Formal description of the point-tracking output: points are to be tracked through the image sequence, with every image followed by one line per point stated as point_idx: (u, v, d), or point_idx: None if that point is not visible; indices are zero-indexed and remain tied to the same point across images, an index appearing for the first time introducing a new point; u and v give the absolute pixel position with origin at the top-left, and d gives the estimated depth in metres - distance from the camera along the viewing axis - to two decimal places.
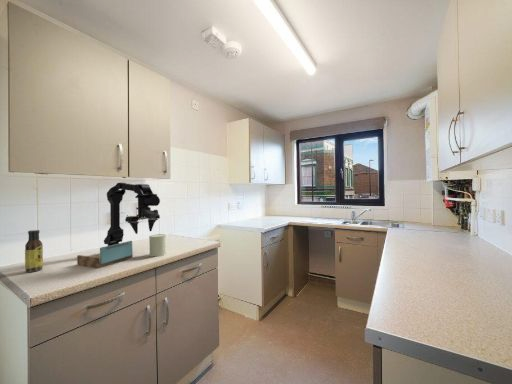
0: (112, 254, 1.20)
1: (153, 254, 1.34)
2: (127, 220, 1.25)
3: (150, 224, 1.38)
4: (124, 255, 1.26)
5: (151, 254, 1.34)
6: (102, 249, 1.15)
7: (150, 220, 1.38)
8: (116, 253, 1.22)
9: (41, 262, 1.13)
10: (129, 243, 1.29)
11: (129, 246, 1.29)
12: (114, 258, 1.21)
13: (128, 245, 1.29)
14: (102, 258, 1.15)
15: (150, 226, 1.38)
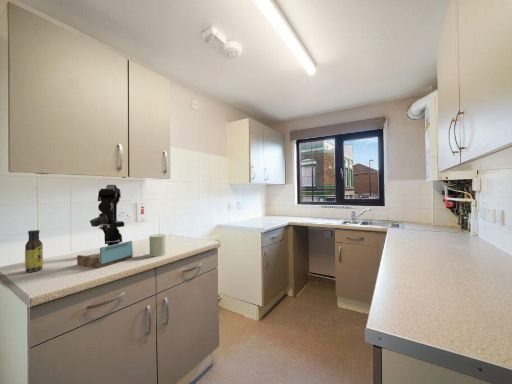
0: (112, 254, 1.20)
1: (153, 254, 1.34)
2: None
3: None
4: (124, 255, 1.26)
5: (151, 254, 1.34)
6: (102, 249, 1.15)
7: None
8: (116, 253, 1.22)
9: (41, 262, 1.13)
10: (129, 243, 1.29)
11: (129, 246, 1.29)
12: (114, 258, 1.21)
13: (128, 245, 1.29)
14: (102, 258, 1.15)
15: None
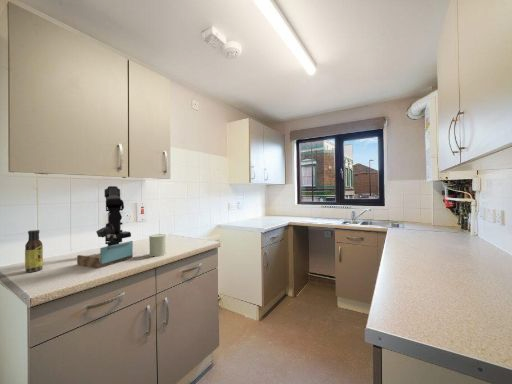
0: (112, 254, 1.20)
1: (153, 254, 1.34)
2: None
3: None
4: (124, 255, 1.26)
5: (151, 254, 1.34)
6: (103, 249, 1.15)
7: None
8: (116, 253, 1.22)
9: (41, 262, 1.13)
10: (129, 243, 1.29)
11: (129, 246, 1.29)
12: (114, 258, 1.21)
13: (128, 245, 1.28)
14: (102, 258, 1.15)
15: None
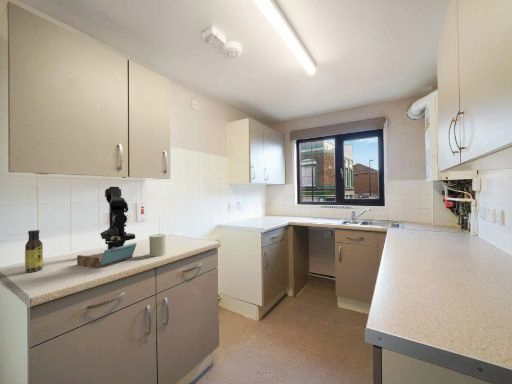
0: (114, 256, 1.19)
1: (153, 254, 1.34)
2: None
3: None
4: (124, 256, 1.26)
5: (151, 254, 1.34)
6: (106, 252, 1.14)
7: None
8: (118, 255, 1.21)
9: (41, 262, 1.13)
10: (133, 246, 1.28)
11: (132, 248, 1.28)
12: (114, 259, 1.21)
13: (131, 248, 1.28)
14: (103, 260, 1.15)
15: None
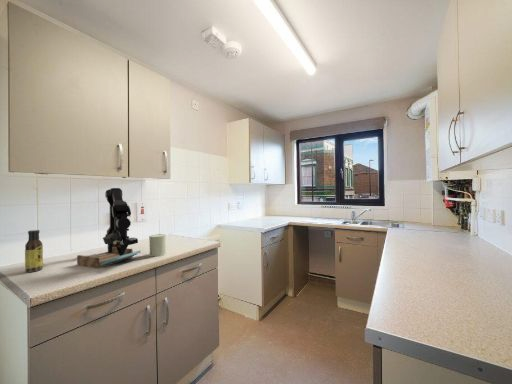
0: (115, 260, 1.19)
1: (153, 254, 1.34)
2: None
3: None
4: (124, 258, 1.26)
5: (151, 254, 1.34)
6: (110, 261, 1.13)
7: None
8: (119, 259, 1.21)
9: (41, 262, 1.13)
10: (136, 253, 1.27)
11: None
12: (114, 261, 1.21)
13: (134, 254, 1.27)
14: (104, 264, 1.15)
15: None
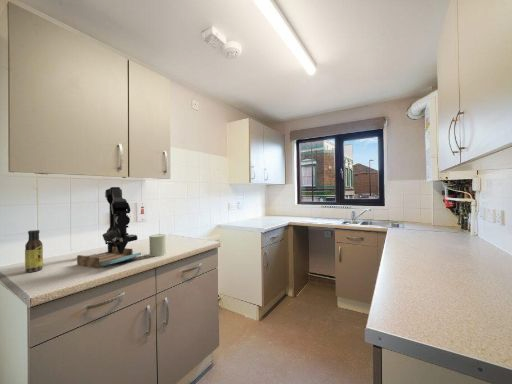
0: None
1: (153, 254, 1.34)
2: None
3: None
4: None
5: (151, 254, 1.34)
6: (110, 263, 1.13)
7: None
8: None
9: (41, 262, 1.13)
10: (137, 255, 1.27)
11: None
12: None
13: None
14: None
15: None
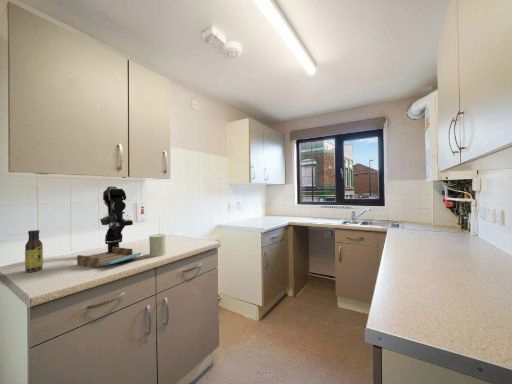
0: None
1: (153, 254, 1.34)
2: None
3: None
4: None
5: (151, 254, 1.34)
6: (110, 263, 1.13)
7: None
8: None
9: (41, 262, 1.13)
10: (137, 255, 1.27)
11: None
12: None
13: None
14: None
15: None
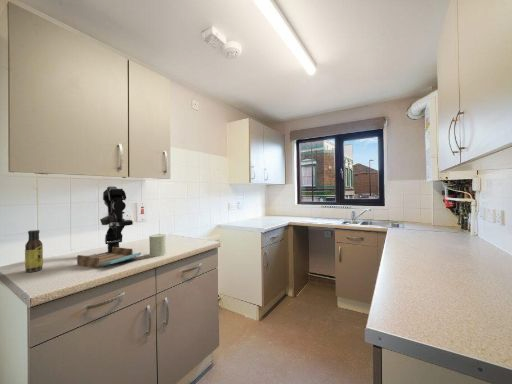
0: None
1: (153, 254, 1.34)
2: None
3: None
4: None
5: (151, 254, 1.34)
6: (110, 263, 1.13)
7: None
8: None
9: (41, 262, 1.13)
10: (137, 255, 1.27)
11: None
12: None
13: None
14: None
15: None
